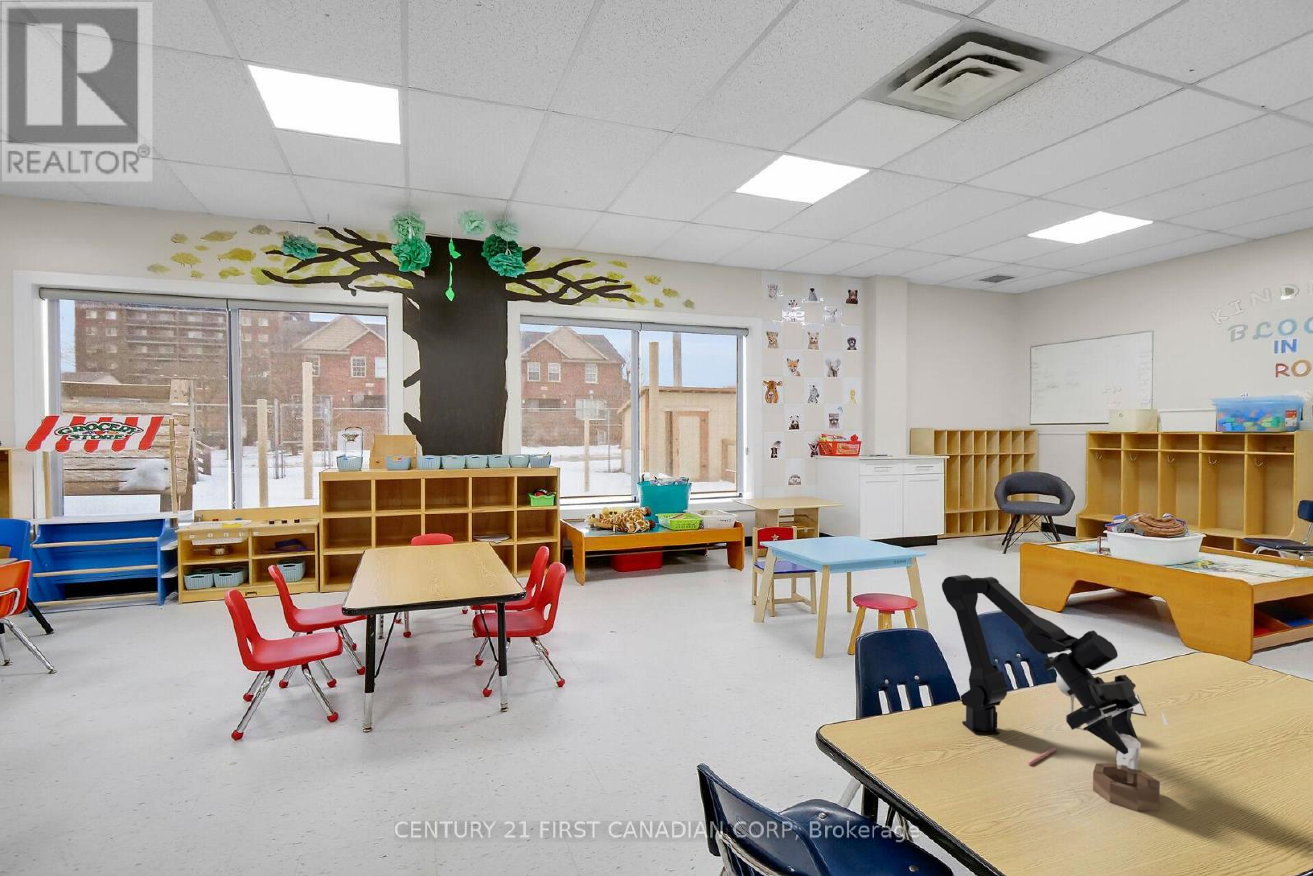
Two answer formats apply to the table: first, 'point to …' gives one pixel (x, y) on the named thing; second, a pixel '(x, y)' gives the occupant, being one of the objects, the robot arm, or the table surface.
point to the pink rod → (1042, 756)
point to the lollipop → (1065, 691)
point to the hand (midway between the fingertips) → (1132, 751)
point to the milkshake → (1128, 759)
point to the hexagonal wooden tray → (1126, 788)
